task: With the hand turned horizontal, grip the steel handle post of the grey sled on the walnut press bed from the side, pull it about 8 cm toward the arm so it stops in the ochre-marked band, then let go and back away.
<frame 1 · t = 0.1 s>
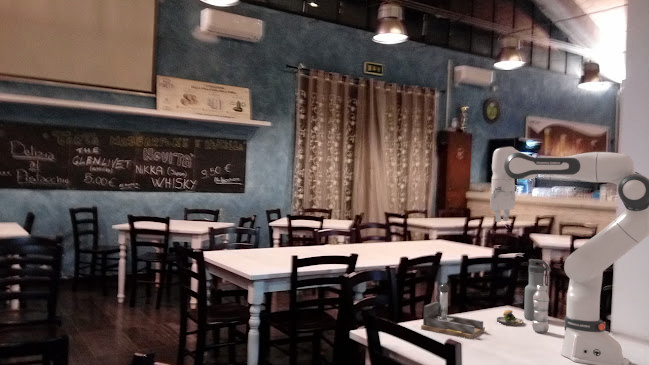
hand: (502, 221, 219), 48 cm above the table, tool pointing down, fingers open, 8 cm apart
burger: (510, 324, 247), on the table
plastic bottle: (540, 332, 233), on the table
press bed: (452, 330, 232), on the table
water bottle: (535, 319, 256), on the table
press sled: (443, 304, 234), point 10 cm above the table, slide at 0.0 cm
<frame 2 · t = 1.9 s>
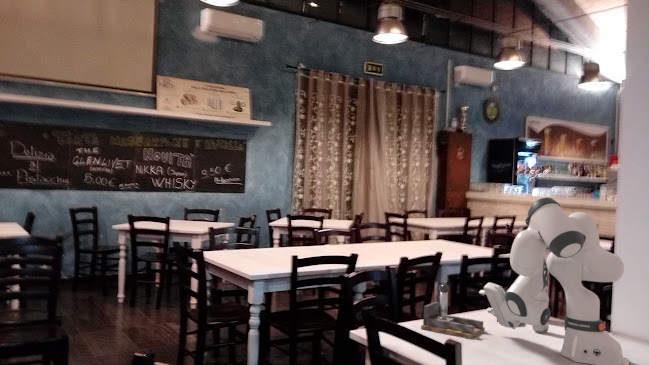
hand: (484, 301, 228), 14 cm above the table, tool horizontal, fingers open, 8 cm apart
nothing on the table moved.
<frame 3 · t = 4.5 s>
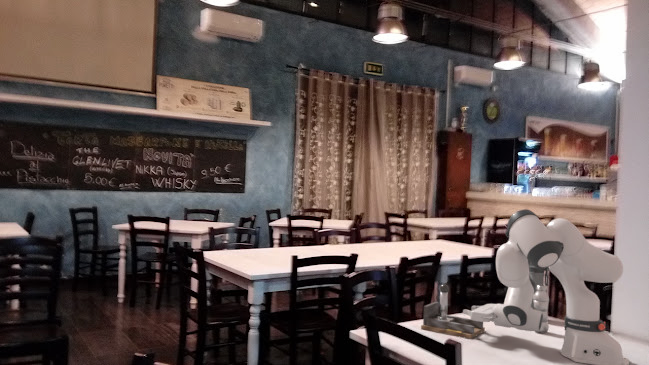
hand: (467, 309, 228), 10 cm above the table, tool horizontal, fingers open, 8 cm apart
nothing on the table moved.
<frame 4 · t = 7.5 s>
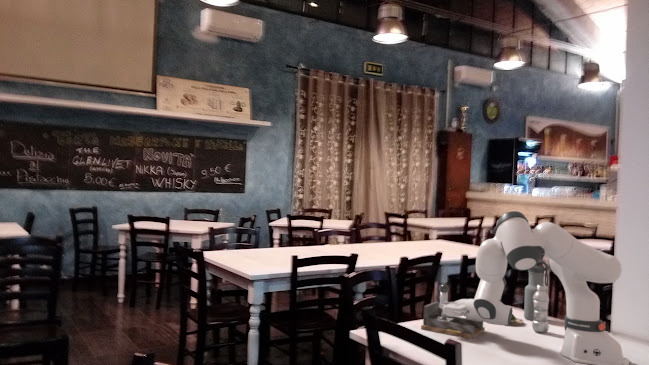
hand: (441, 304, 235), 10 cm above the table, tool horizontal, fingers closed on press sled, 3 cm apart
press sled: (443, 304, 234), point 10 cm above the table, slide at 0.0 cm, touching gripper
everything else where it was.
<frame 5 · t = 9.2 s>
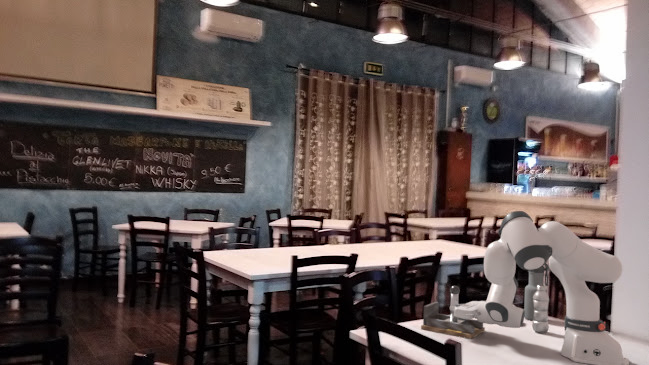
hand: (452, 306, 232), 10 cm above the table, tool horizontal, fingers closed on press sled, 3 cm apart
press sled: (454, 306, 232), point 10 cm above the table, slide at 4.9 cm, touching gripper
everything else where it was.
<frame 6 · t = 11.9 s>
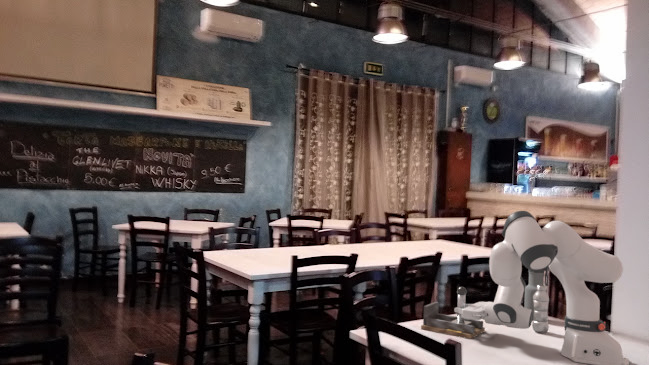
hand: (459, 307, 230), 10 cm above the table, tool horizontal, fingers open, 8 cm apart
press sled: (461, 307, 230), point 10 cm above the table, slide at 8.0 cm
everything else where it was.
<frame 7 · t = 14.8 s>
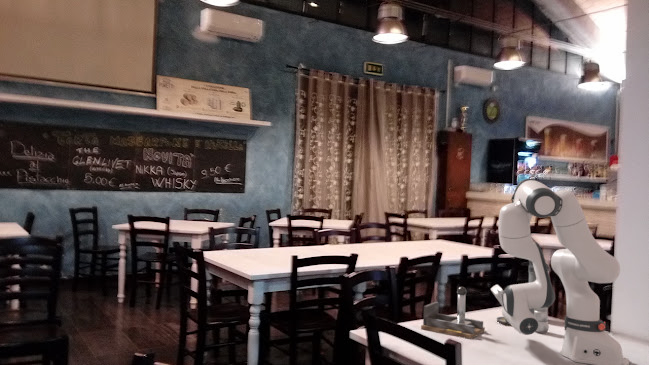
hand: (503, 301, 228), 14 cm above the table, tool horizontal, fingers open, 8 cm apart
nothing on the table moved.
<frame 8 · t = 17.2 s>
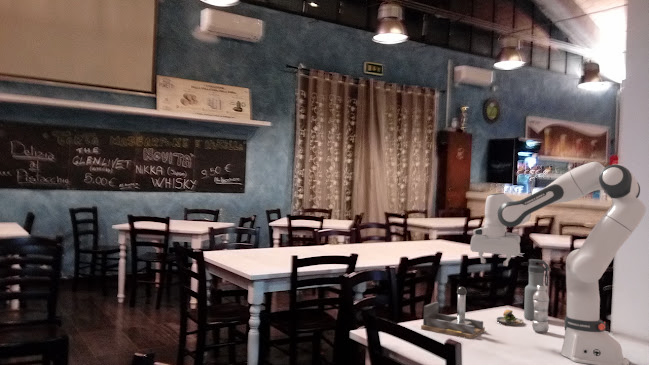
hand: (494, 264, 228), 29 cm above the table, tool pointing down, fingers open, 8 cm apart
nothing on the table moved.
at the end: press sled slide at 8.0 cm; the gripper is holding nothing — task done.
